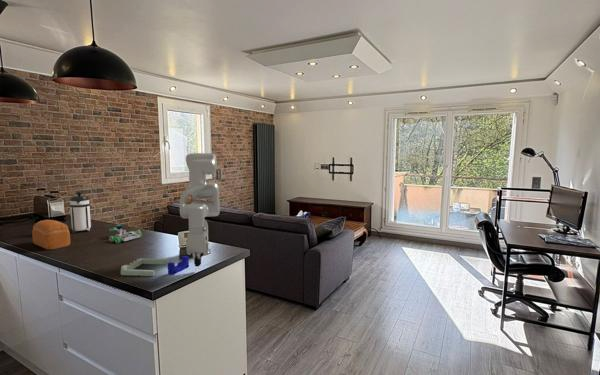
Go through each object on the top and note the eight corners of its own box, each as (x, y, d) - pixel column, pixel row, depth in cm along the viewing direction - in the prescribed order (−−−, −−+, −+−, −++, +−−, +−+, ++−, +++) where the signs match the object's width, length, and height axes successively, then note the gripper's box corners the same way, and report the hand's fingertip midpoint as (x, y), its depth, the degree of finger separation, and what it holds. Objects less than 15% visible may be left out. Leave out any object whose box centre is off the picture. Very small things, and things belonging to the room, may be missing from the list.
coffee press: (99, 229, 250) (96, 191, 247) (78, 234, 235) (75, 193, 232) (83, 227, 256) (81, 190, 253) (62, 232, 241) (59, 192, 238)
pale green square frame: (140, 262, 176) (140, 255, 175) (170, 263, 175) (170, 256, 174) (120, 274, 158) (120, 267, 158) (153, 276, 157) (153, 268, 157)
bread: (46, 250, 196) (44, 225, 194) (31, 243, 211) (29, 220, 209) (72, 245, 207) (70, 221, 205) (56, 239, 222) (54, 216, 220)
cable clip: (182, 266, 172) (181, 255, 171) (188, 267, 170) (188, 256, 169) (165, 274, 160) (165, 262, 160) (172, 275, 159) (172, 263, 158)
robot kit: (122, 233, 238) (121, 221, 237) (145, 238, 227) (144, 225, 226) (97, 239, 222) (96, 226, 221) (120, 244, 211) (120, 230, 210)
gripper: (213, 229, 165) (214, 263, 167) (185, 228, 166) (186, 263, 168) (208, 232, 158) (209, 268, 159) (179, 231, 159) (180, 267, 160)
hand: (197, 265), depth 164 cm, fingers closed
